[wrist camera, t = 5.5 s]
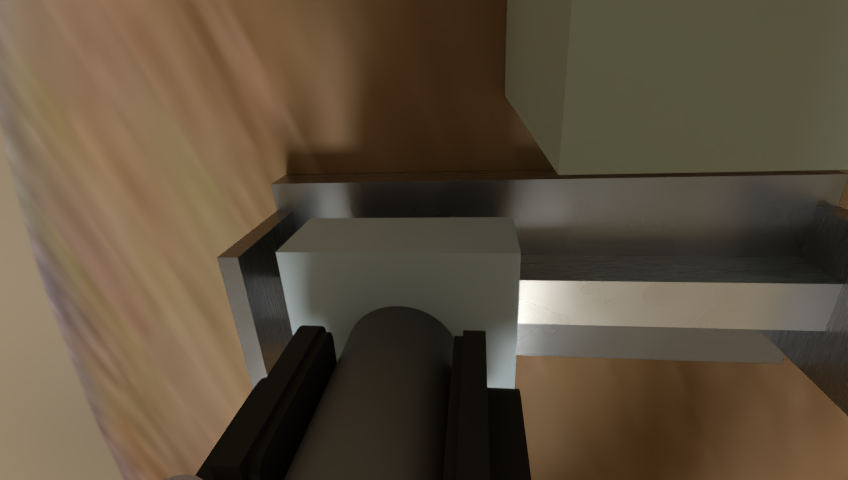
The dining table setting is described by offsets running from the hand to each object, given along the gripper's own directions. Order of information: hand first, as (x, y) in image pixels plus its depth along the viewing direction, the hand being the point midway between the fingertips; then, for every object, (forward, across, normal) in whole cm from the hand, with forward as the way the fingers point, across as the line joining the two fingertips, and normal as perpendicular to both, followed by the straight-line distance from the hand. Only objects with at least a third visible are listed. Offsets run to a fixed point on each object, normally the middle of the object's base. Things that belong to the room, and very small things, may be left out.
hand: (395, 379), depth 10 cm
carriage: (+3, 0, 0) cm, 3 cm away
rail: (+7, -4, 0) cm, 8 cm away
